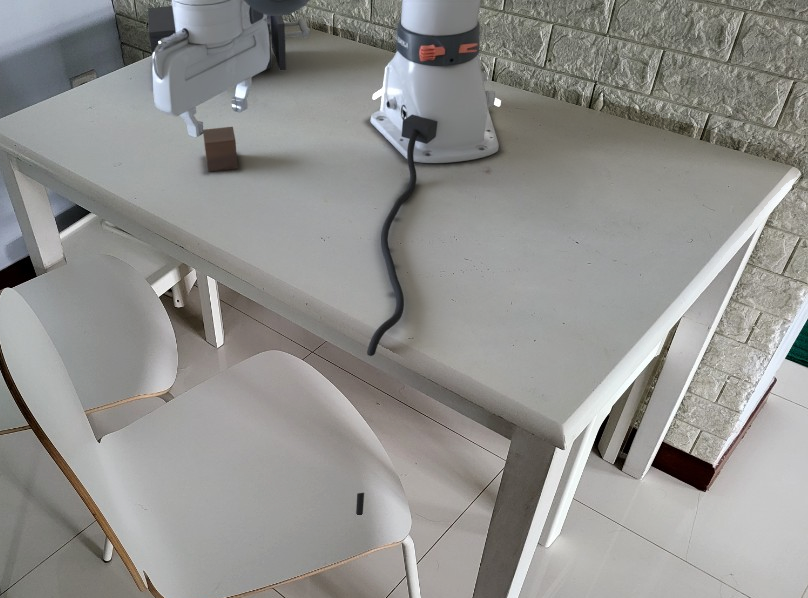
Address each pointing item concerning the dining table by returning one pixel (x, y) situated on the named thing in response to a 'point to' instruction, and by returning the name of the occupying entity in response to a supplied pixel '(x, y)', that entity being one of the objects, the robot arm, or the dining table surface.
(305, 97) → the dining table surface
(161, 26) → the cabinet
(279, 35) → the drawer
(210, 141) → the block
